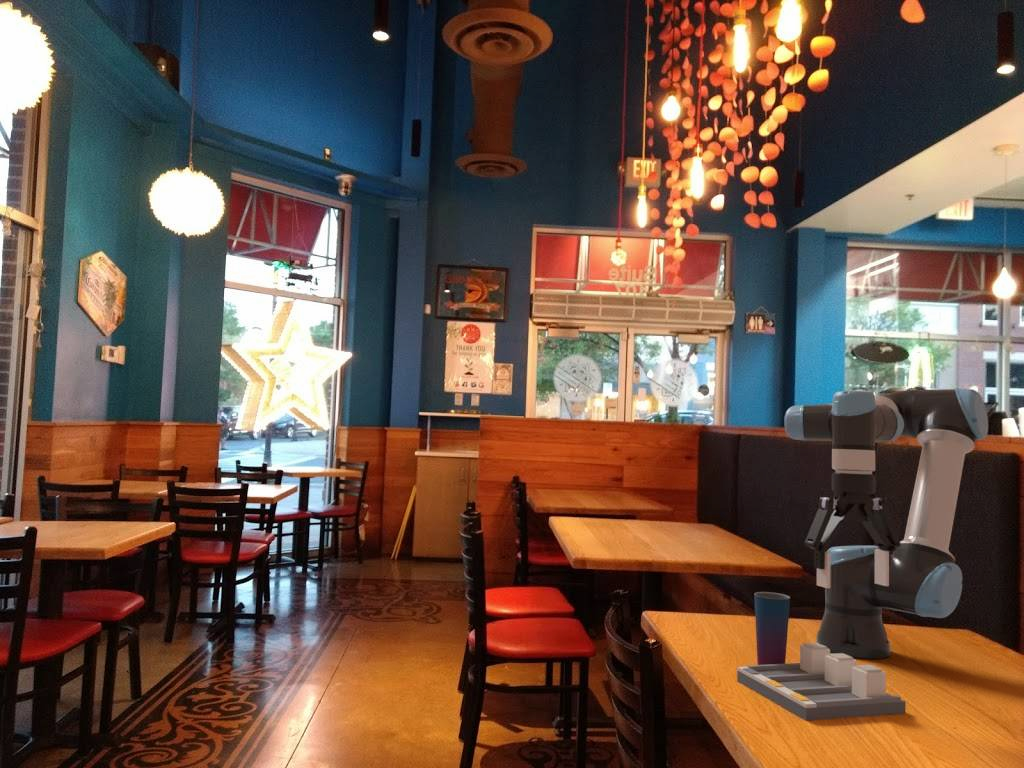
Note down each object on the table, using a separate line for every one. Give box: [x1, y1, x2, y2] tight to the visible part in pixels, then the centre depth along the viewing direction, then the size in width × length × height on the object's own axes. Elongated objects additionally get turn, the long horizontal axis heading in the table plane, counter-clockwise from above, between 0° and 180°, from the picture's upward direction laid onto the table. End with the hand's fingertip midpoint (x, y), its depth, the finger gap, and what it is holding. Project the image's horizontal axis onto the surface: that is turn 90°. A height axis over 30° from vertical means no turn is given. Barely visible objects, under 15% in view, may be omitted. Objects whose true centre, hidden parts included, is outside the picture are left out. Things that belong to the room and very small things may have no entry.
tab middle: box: [825, 653, 857, 686], centre depth 135 cm, size 4×4×5 cm
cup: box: [753, 591, 791, 665], centre depth 147 cm, size 7×7×15 cm
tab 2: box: [852, 664, 887, 698], centre depth 128 cm, size 4×4×5 cm
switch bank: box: [736, 662, 907, 722], centre depth 133 cm, size 20×20×3 cm
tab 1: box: [799, 642, 831, 673], centre depth 142 cm, size 4×4×5 cm
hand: (853, 585), depth 138 cm, fingers open, 13 cm apart
